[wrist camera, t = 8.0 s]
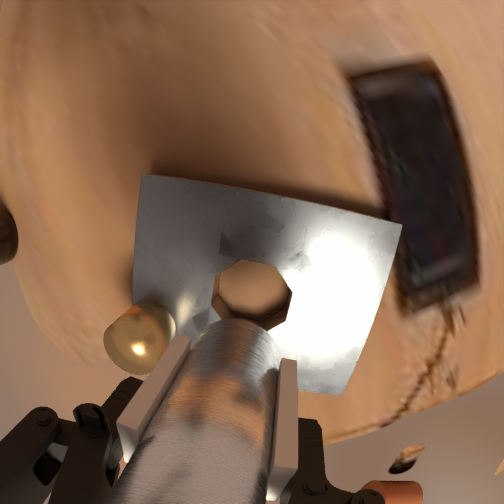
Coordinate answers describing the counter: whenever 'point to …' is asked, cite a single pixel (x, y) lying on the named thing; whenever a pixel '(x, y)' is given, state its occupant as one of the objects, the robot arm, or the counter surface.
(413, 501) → the crank
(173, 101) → the counter surface
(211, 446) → the rounded peg
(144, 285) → the plate
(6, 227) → the supplement bottle
